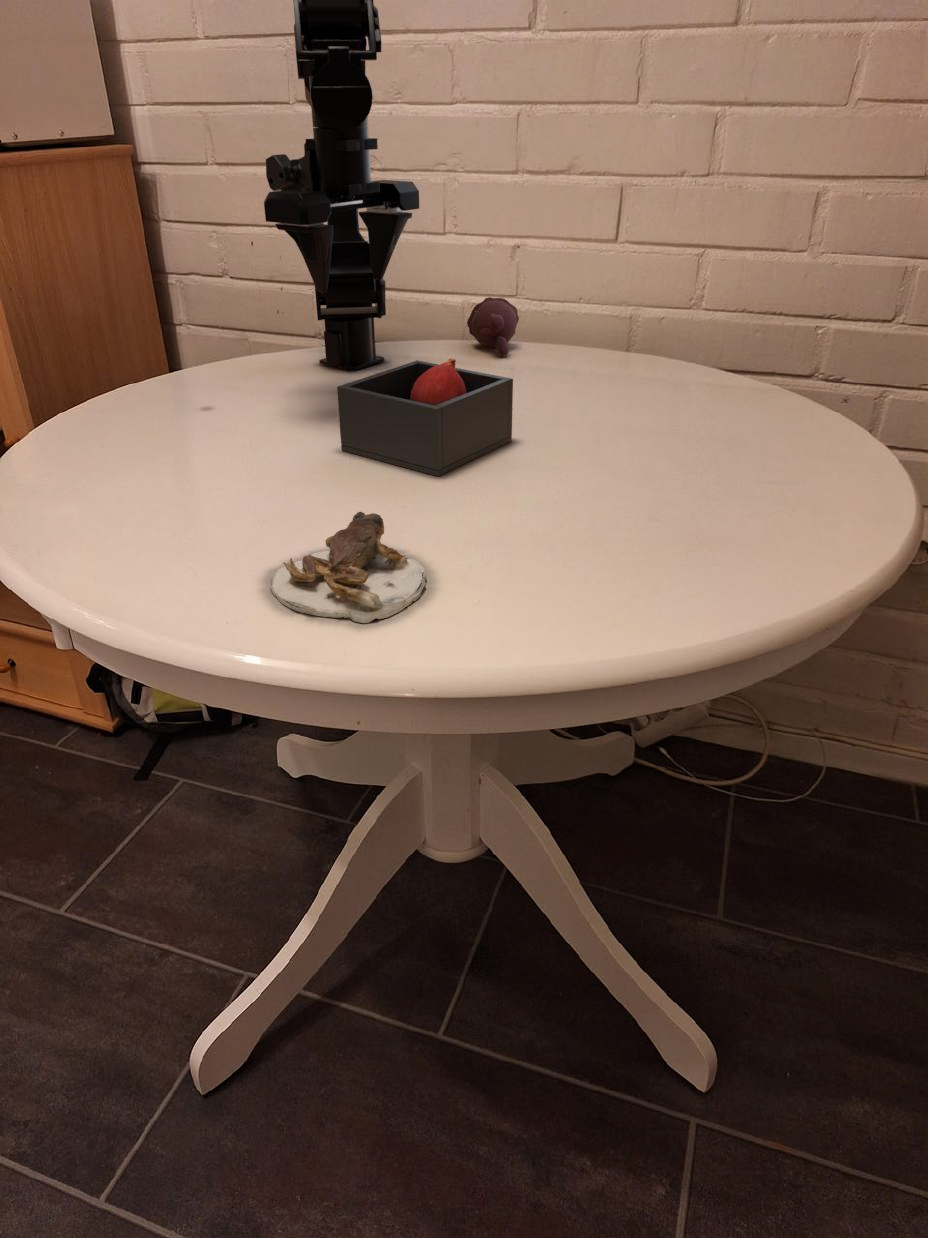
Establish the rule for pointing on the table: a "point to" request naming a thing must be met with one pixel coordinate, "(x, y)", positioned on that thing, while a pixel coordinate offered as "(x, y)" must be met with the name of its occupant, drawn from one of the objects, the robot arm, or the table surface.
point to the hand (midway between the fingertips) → (350, 285)
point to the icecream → (494, 323)
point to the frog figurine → (351, 576)
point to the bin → (424, 419)
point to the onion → (438, 384)
